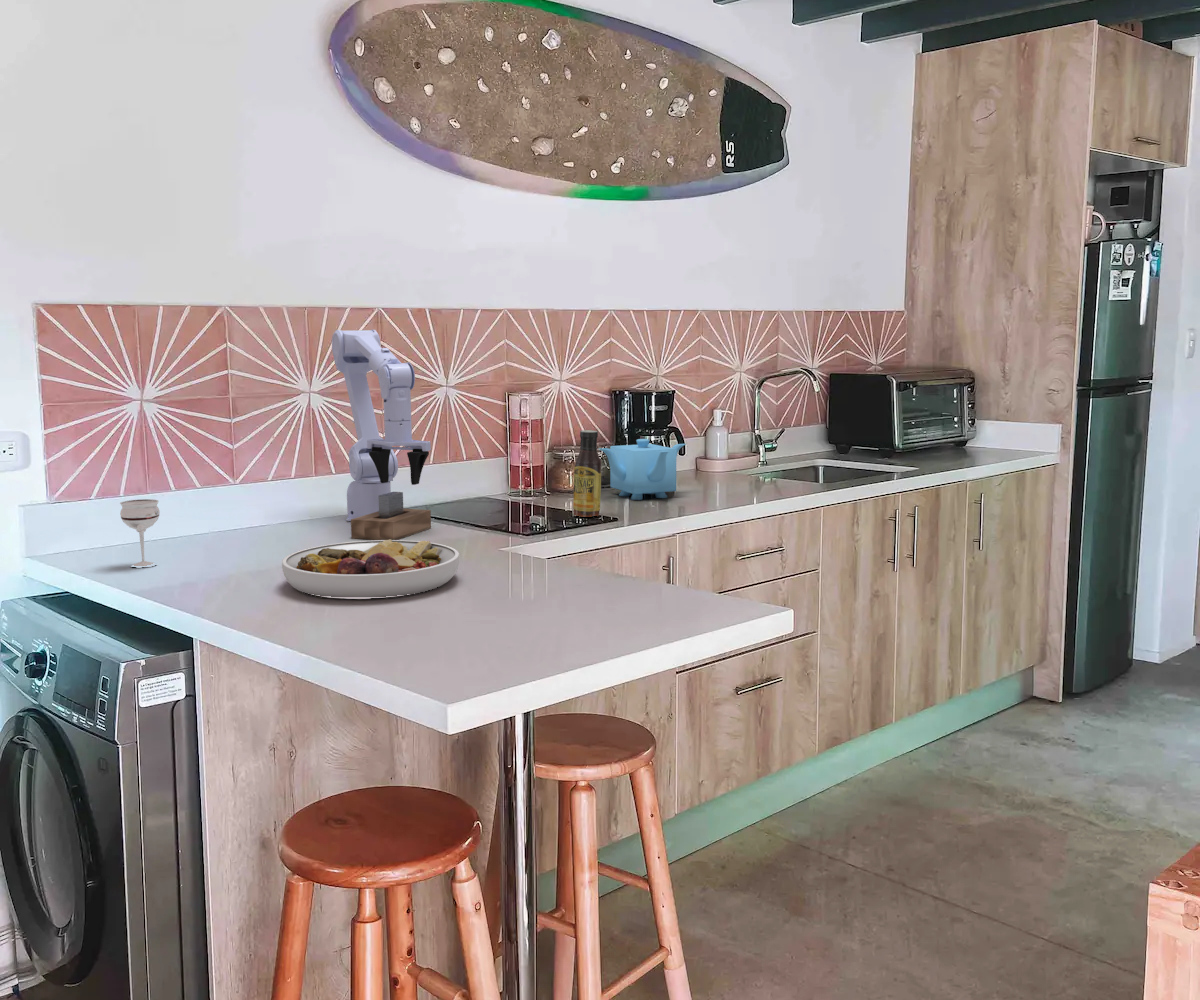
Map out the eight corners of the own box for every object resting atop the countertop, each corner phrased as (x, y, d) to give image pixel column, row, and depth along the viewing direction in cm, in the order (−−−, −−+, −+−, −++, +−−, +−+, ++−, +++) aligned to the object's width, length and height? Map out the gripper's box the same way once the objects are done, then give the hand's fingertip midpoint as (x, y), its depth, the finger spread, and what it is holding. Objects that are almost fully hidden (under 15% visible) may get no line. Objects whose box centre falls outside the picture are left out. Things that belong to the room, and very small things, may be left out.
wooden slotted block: (351, 538, 241) (350, 519, 240) (391, 525, 255) (390, 507, 255) (393, 541, 237) (392, 522, 236) (431, 528, 252) (430, 510, 251)
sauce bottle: (568, 517, 264) (567, 431, 261) (581, 513, 270) (580, 429, 267) (593, 519, 261) (593, 432, 258) (606, 515, 267) (605, 430, 264)
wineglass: (170, 562, 217) (166, 499, 215) (147, 570, 211) (143, 505, 209) (139, 561, 219) (135, 498, 217) (116, 568, 213) (111, 504, 211)
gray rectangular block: (379, 533, 244) (378, 495, 242) (394, 528, 249) (393, 491, 248) (389, 533, 243) (388, 496, 242) (404, 528, 248) (402, 492, 247)
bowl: (275, 573, 209) (273, 531, 208) (438, 561, 219) (437, 520, 218) (292, 612, 181) (290, 563, 180) (478, 595, 191) (477, 549, 190)
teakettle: (620, 489, 308) (620, 434, 305) (688, 492, 301) (688, 436, 299) (596, 500, 290) (596, 442, 288) (668, 503, 284) (668, 444, 282)
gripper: (358, 420, 244) (360, 484, 247) (418, 422, 239) (419, 487, 241) (376, 417, 251) (378, 479, 253) (434, 419, 246) (436, 482, 248)
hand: (399, 483), depth 248 cm, fingers open, 7 cm apart
